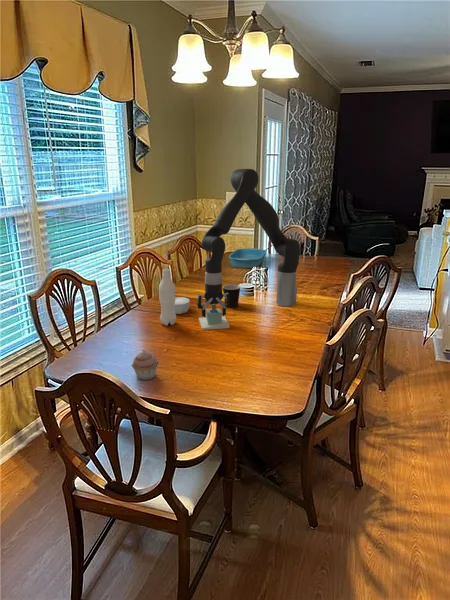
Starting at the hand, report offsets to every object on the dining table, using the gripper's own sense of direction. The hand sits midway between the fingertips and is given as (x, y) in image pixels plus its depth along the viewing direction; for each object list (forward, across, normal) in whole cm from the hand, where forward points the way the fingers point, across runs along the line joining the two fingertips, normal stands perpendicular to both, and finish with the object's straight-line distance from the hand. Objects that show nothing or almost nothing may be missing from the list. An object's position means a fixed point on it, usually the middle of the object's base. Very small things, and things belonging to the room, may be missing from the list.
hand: (213, 316), depth 199 cm
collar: (+3, 0, 0) cm, 3 cm away
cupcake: (+4, +31, +43) cm, 53 cm away
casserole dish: (+4, -41, -104) cm, 112 cm away
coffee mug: (+4, -13, -23) cm, 27 cm away
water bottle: (+4, +20, -4) cm, 21 cm away
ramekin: (+4, +14, -20) cm, 25 cm away
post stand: (+4, 0, 0) cm, 4 cm away
